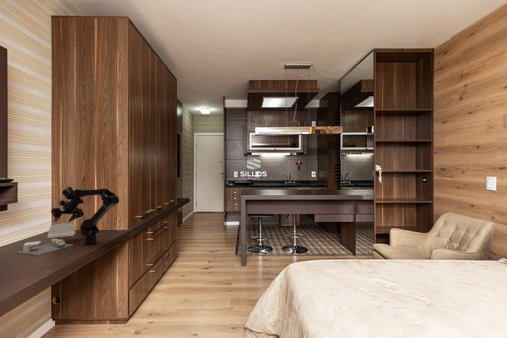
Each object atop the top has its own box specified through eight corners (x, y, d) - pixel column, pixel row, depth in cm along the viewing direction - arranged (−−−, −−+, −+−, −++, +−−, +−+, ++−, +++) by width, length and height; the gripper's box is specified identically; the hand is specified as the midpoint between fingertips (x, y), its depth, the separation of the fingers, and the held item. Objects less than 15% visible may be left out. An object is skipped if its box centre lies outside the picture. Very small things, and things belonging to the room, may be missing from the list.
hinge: (46, 238, 192) (47, 223, 195) (48, 238, 196) (49, 225, 199) (74, 235, 199) (75, 221, 202) (75, 236, 203) (76, 222, 206)
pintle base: (73, 245, 172) (73, 237, 172) (39, 255, 152) (38, 247, 152) (52, 243, 177) (52, 236, 177) (16, 253, 157) (16, 244, 157)
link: (65, 246, 167) (65, 241, 167) (58, 247, 164) (58, 243, 164) (57, 242, 176) (57, 238, 176) (49, 243, 173) (49, 239, 173)
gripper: (82, 197, 191) (71, 213, 194) (53, 195, 174) (42, 213, 177) (89, 207, 186) (77, 224, 189) (60, 207, 170) (48, 225, 172)
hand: (62, 221), depth 182 cm, fingers open, 9 cm apart
